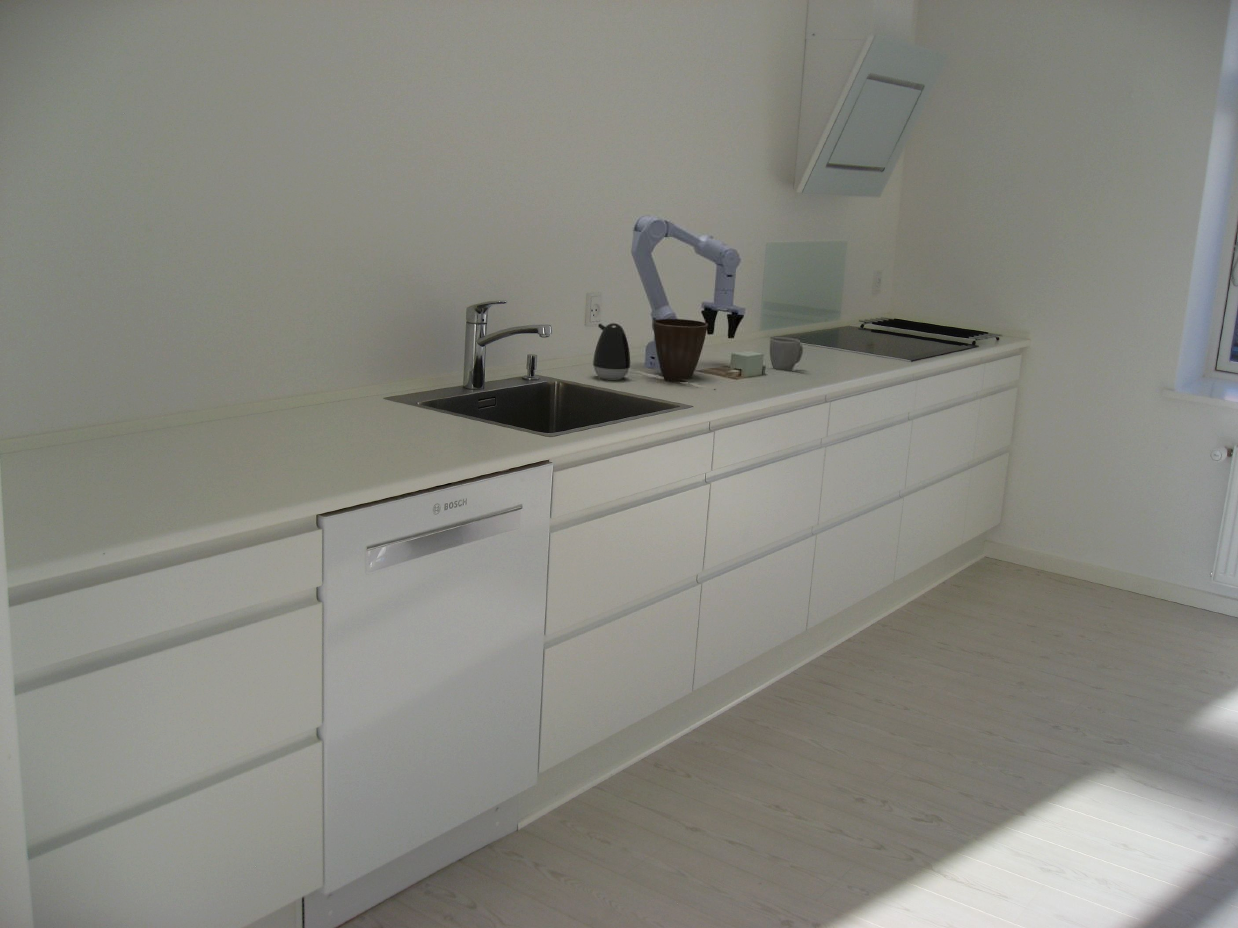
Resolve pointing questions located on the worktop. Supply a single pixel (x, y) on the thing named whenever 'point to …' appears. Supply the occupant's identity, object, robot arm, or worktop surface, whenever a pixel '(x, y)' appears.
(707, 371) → the cleat board
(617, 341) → the pump dispenser
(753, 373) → the cabinet block
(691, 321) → the plant pot
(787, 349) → the mug
